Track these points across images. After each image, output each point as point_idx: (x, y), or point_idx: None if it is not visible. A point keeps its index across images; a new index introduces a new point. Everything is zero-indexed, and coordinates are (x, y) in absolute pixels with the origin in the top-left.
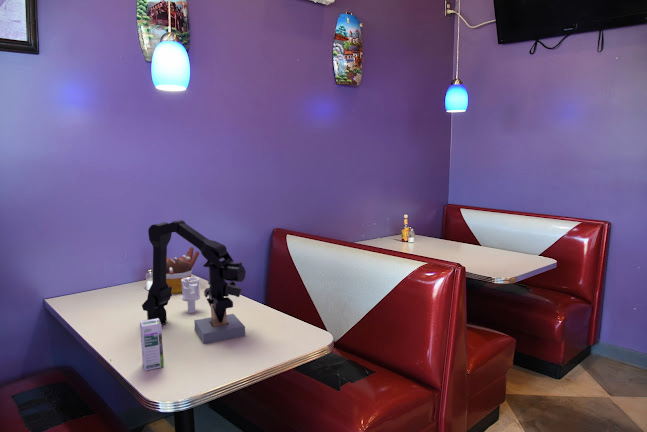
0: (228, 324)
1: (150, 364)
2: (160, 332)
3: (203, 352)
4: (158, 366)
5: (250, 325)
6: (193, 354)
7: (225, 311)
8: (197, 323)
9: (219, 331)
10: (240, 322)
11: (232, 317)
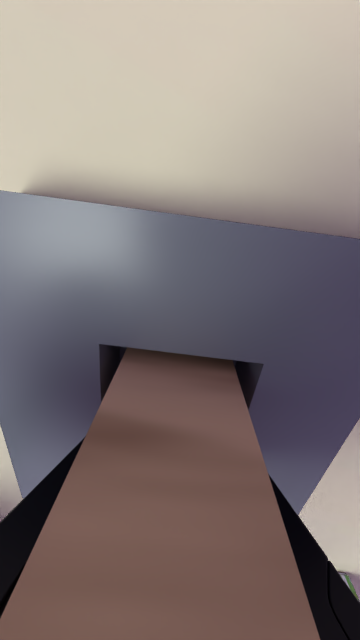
0: (227, 353)
1: None
2: None
3: (354, 486)
4: None
5: (172, 49)
6: (337, 510)
7: (288, 565)
8: None
9: (329, 458)
10: (299, 241)
11: (75, 254)
